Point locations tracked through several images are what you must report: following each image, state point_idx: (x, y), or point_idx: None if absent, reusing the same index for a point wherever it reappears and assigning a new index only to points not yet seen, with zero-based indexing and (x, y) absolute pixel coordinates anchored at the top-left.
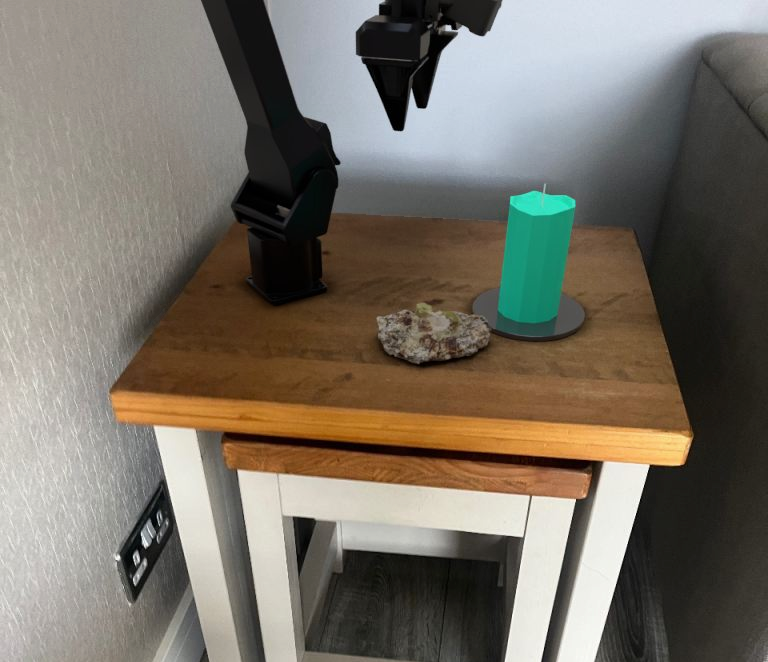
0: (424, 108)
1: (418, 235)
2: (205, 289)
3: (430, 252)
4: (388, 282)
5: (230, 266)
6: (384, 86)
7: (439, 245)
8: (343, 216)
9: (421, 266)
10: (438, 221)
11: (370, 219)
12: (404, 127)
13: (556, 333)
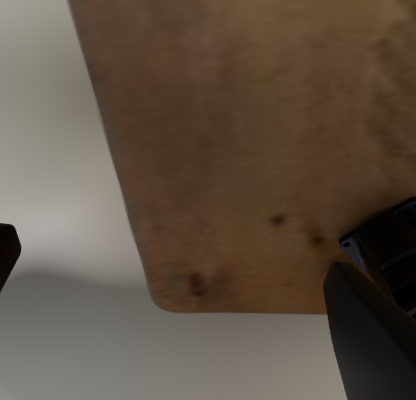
0: (13, 227)
1: (179, 98)
2: None
3: (255, 62)
4: (389, 117)
5: None
6: None
7: (218, 48)
8: (138, 222)
9: (322, 69)
10: (98, 69)
11: (136, 186)
12: (340, 265)
13: None
